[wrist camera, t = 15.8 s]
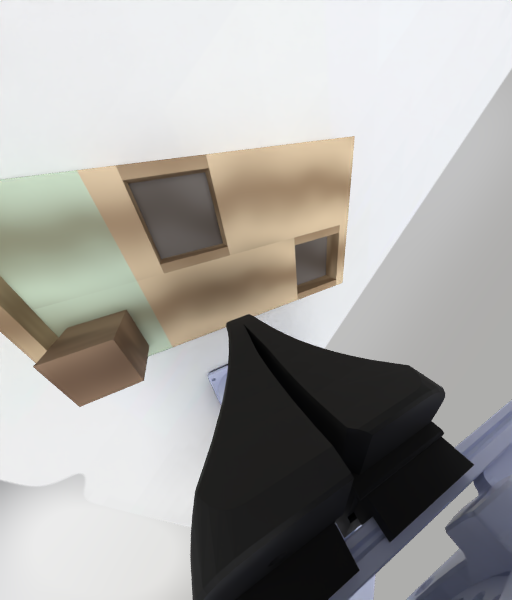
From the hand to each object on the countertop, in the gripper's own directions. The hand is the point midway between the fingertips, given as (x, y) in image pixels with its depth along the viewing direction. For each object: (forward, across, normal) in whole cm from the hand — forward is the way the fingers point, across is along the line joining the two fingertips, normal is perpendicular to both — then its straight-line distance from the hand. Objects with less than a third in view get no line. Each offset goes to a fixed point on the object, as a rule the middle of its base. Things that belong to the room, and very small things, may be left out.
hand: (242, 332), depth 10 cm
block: (+8, +9, +2) cm, 12 cm away
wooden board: (+10, -1, -2) cm, 10 cm away
